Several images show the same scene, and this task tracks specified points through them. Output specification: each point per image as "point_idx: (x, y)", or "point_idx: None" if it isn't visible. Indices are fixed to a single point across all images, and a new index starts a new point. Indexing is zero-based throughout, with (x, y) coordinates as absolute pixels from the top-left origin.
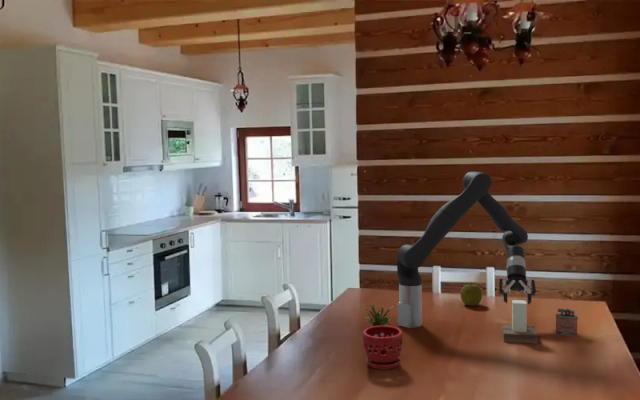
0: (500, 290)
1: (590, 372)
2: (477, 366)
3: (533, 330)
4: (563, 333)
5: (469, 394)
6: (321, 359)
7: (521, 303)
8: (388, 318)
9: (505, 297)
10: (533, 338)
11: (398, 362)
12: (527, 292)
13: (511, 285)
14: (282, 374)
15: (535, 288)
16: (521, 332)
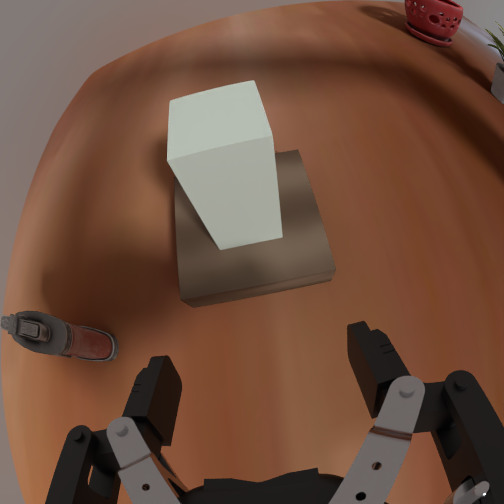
0: (456, 376)
1: (112, 94)
2: (305, 41)
3: (185, 234)
4: (92, 328)
5: (284, 5)
6: (487, 52)
7: (201, 92)
8: (492, 35)
9: (377, 350)
10: None
11: (406, 24)
12: (144, 437)
13: (350, 481)
14: (470, 29)
15: (58, 460)
16: None
